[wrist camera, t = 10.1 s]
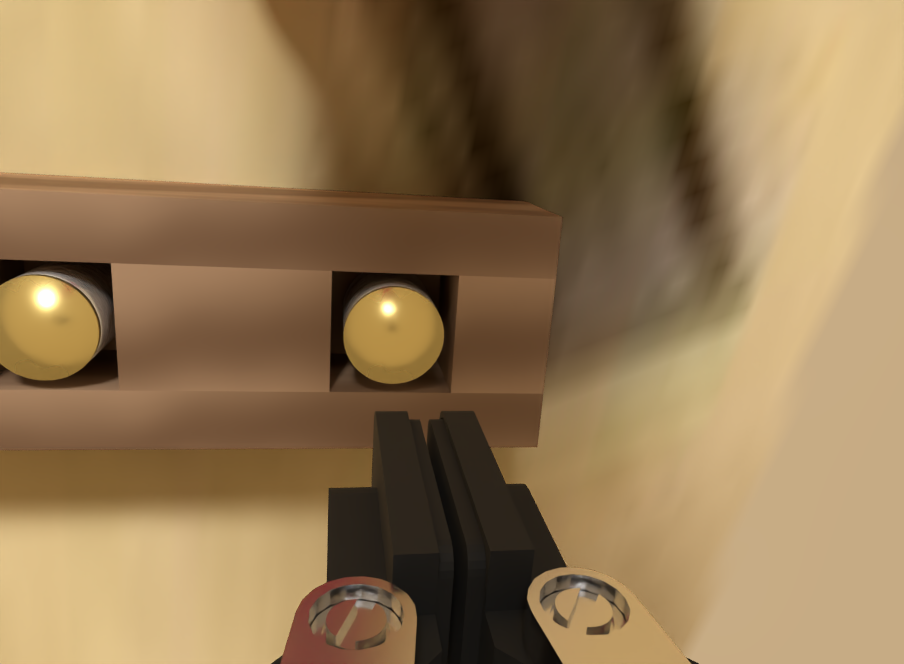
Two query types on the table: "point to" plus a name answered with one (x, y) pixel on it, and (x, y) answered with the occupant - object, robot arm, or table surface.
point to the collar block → (275, 312)
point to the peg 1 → (56, 318)
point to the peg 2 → (391, 327)
